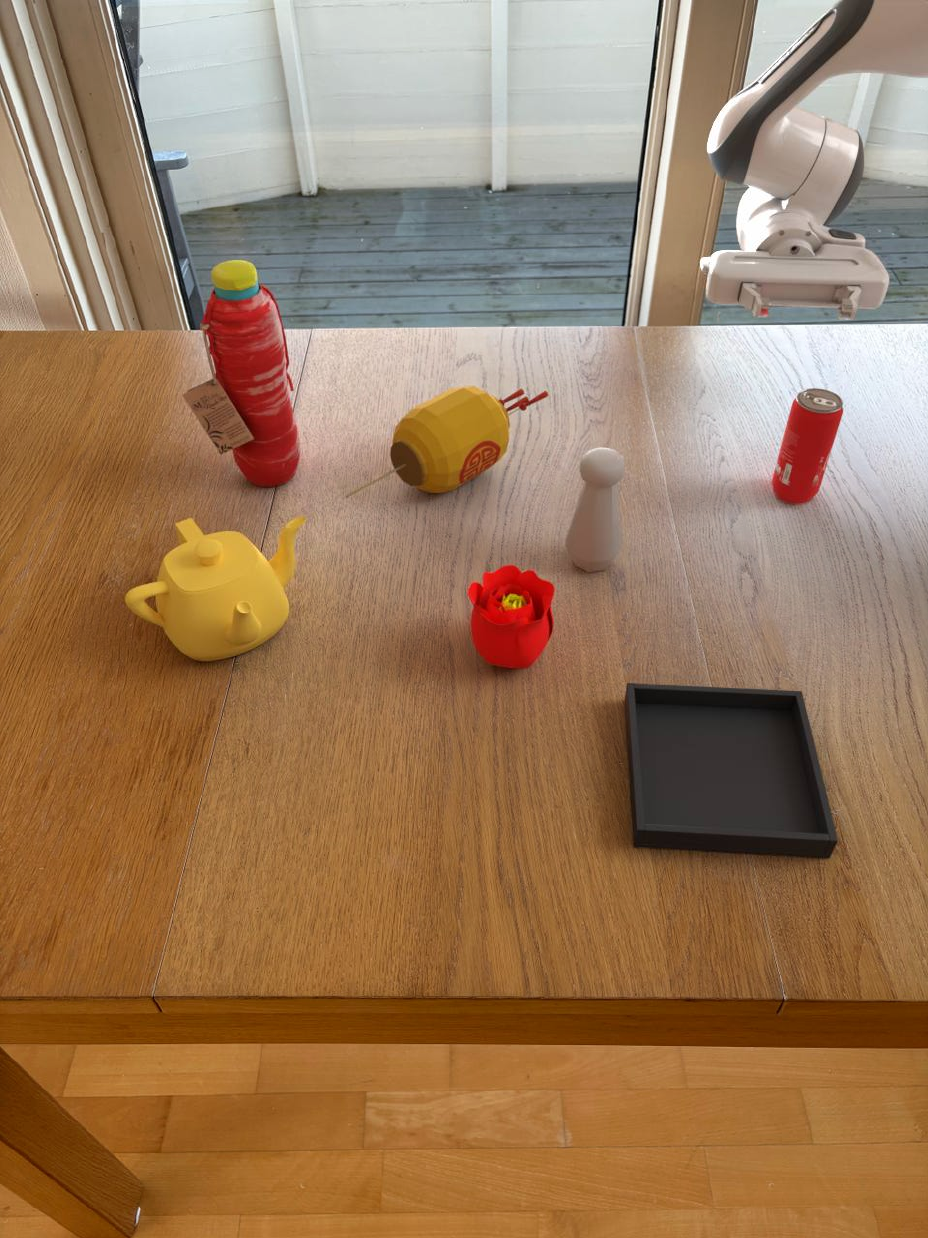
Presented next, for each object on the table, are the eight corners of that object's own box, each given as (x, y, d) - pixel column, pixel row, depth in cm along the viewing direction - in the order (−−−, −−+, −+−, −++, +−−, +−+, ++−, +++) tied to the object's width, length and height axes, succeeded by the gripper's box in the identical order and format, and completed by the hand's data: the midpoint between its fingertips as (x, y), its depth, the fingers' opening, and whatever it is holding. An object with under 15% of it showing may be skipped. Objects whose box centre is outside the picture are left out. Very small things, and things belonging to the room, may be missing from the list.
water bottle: (235, 516, 105) (186, 303, 88) (198, 484, 110) (144, 275, 92) (323, 473, 111) (294, 265, 93) (285, 444, 115) (250, 240, 98)
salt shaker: (626, 574, 98) (641, 470, 89) (572, 581, 97) (582, 476, 88) (610, 538, 102) (624, 436, 93) (558, 545, 101) (566, 442, 92)
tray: (795, 709, 85) (802, 690, 83) (829, 858, 74) (838, 841, 72) (624, 701, 86) (627, 682, 84) (633, 847, 75) (637, 829, 73)
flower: (458, 636, 92) (456, 574, 86) (530, 615, 94) (534, 553, 88) (489, 693, 86) (490, 631, 81) (566, 669, 88) (572, 607, 83)
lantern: (519, 334, 112) (319, 434, 97) (579, 380, 109) (381, 492, 94) (504, 399, 120) (316, 501, 105) (559, 444, 117) (373, 556, 102)
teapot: (265, 687, 87) (247, 609, 80) (133, 661, 90) (105, 583, 83) (318, 588, 97) (307, 511, 90) (198, 567, 99) (177, 491, 92)
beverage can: (775, 474, 110) (800, 382, 102) (820, 486, 108) (849, 393, 100) (764, 499, 107) (789, 406, 98) (811, 511, 105) (840, 417, 97)
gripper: (702, 230, 113) (716, 282, 104) (877, 234, 112) (907, 287, 102) (693, 280, 118) (706, 335, 108) (861, 285, 117) (889, 341, 107)
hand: (805, 312), depth 105 cm, fingers open, 8 cm apart
